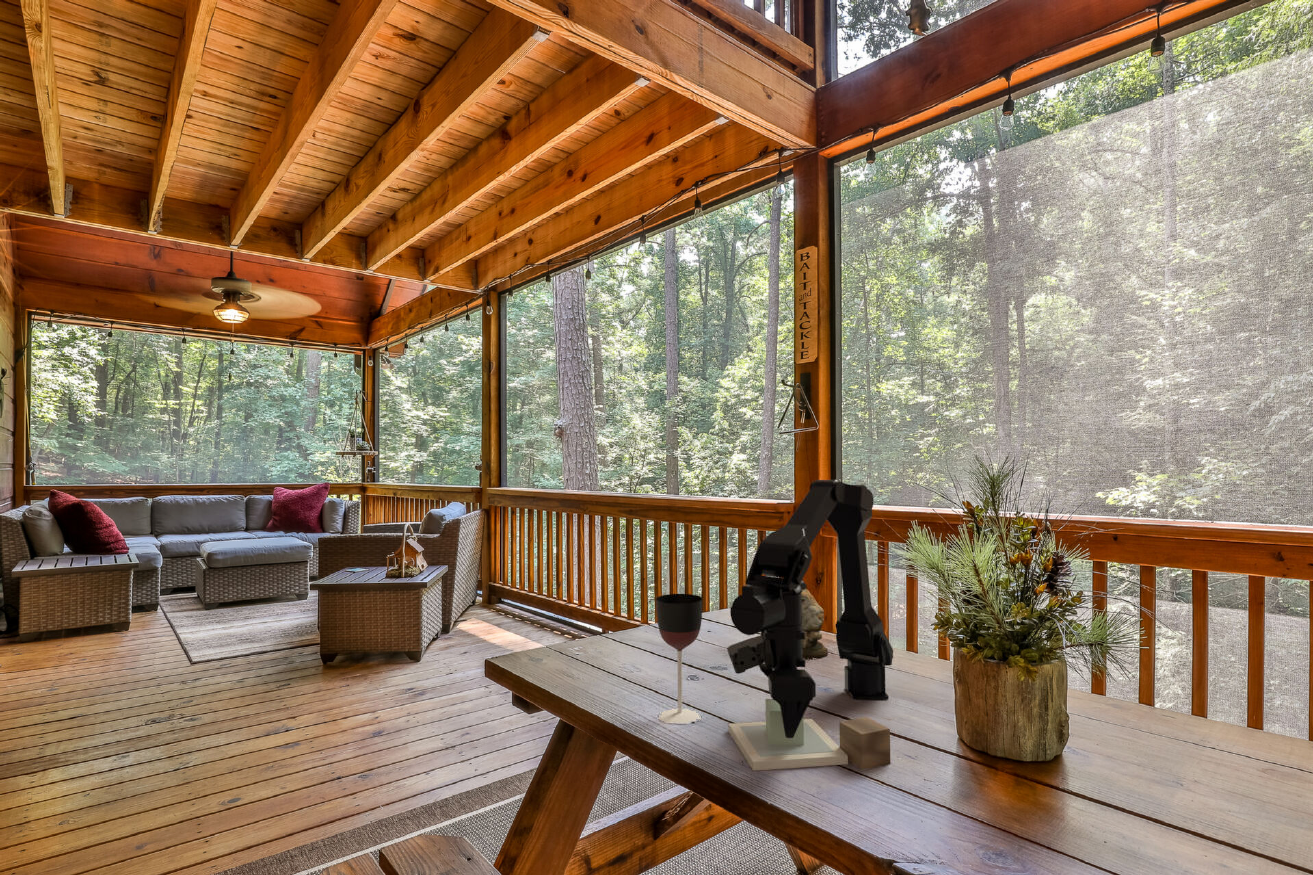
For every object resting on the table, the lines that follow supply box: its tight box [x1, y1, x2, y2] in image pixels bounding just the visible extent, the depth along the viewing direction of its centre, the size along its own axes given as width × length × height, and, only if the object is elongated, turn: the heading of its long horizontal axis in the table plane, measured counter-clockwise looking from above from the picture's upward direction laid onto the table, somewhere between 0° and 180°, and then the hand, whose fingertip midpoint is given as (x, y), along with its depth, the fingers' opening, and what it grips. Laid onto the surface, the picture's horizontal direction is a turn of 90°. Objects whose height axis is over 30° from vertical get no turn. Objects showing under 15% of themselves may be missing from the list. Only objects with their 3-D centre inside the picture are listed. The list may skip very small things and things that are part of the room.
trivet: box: [728, 718, 849, 772], centre depth 101 cm, size 14×14×1 cm
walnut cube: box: [838, 716, 892, 771], centre depth 97 cm, size 5×5×5 cm
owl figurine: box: [802, 588, 829, 659], centre depth 155 cm, size 18×12×17 cm, turn 45°
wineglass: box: [655, 593, 703, 724], centre depth 114 cm, size 8×9×20 cm
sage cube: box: [764, 698, 804, 745], centre depth 101 cm, size 5×5×5 cm
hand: (784, 725), depth 101 cm, fingers open, 9 cm apart
